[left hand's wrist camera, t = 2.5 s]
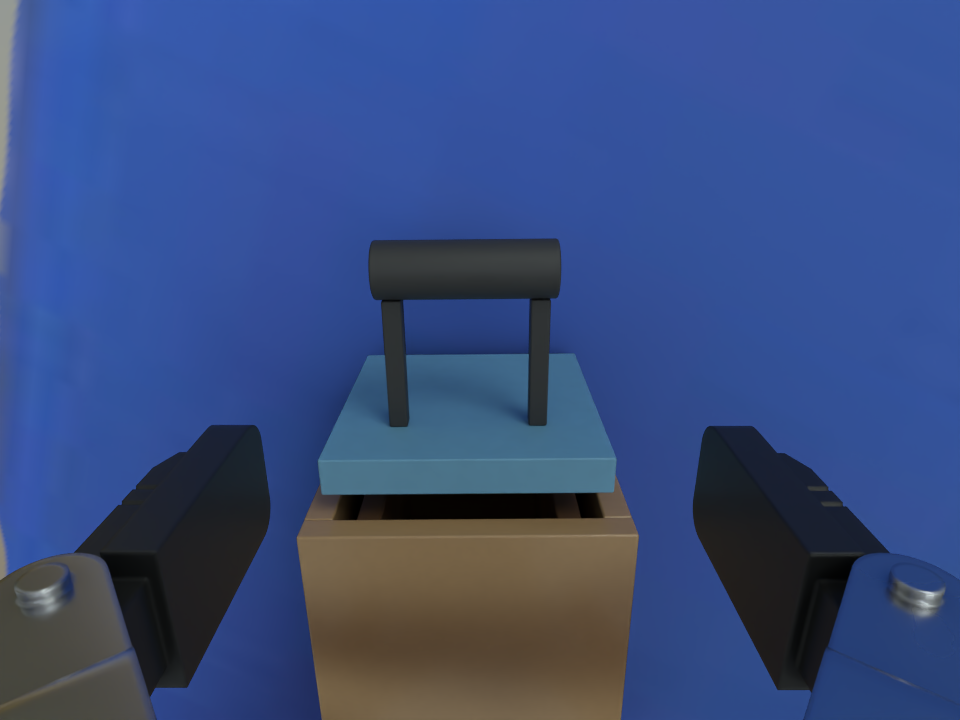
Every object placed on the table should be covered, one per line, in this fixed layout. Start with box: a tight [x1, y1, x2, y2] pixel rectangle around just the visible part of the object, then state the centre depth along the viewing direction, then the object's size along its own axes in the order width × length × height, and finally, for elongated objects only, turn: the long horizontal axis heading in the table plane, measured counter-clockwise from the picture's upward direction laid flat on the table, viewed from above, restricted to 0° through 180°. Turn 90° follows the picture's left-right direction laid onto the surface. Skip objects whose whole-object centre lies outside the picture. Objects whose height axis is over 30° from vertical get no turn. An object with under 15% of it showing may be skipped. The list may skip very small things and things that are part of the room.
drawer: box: [318, 239, 617, 520], centre depth 25 cm, size 26×9×9 cm, turn 0°
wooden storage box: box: [297, 474, 639, 720], centre depth 27 cm, size 21×10×11 cm, turn 0°
